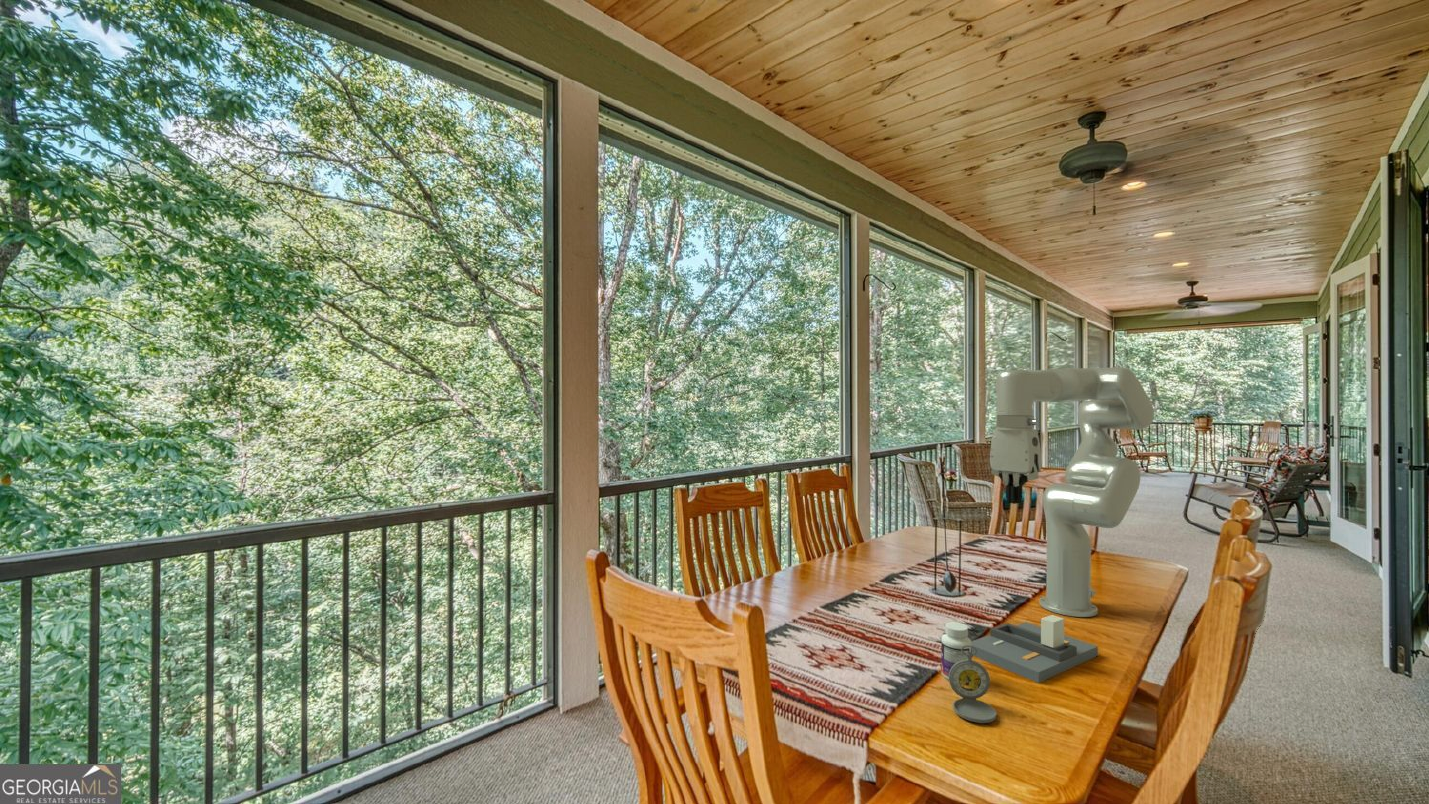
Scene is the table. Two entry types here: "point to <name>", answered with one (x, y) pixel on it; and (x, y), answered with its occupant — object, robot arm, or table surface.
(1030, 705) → the table surface
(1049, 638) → the fader
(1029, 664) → the console
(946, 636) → the pill bottle
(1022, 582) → the table surface
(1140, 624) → the table surface
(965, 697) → the pocket watch
